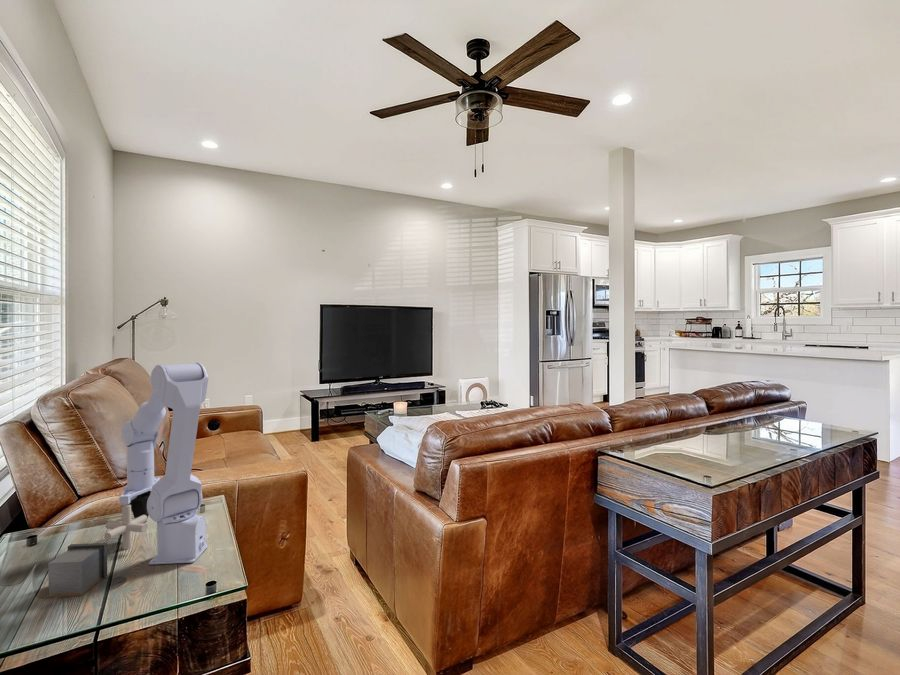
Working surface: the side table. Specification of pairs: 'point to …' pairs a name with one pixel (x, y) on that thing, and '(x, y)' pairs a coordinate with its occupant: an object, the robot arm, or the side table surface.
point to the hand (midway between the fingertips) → (141, 522)
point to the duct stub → (77, 569)
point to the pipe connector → (126, 527)
